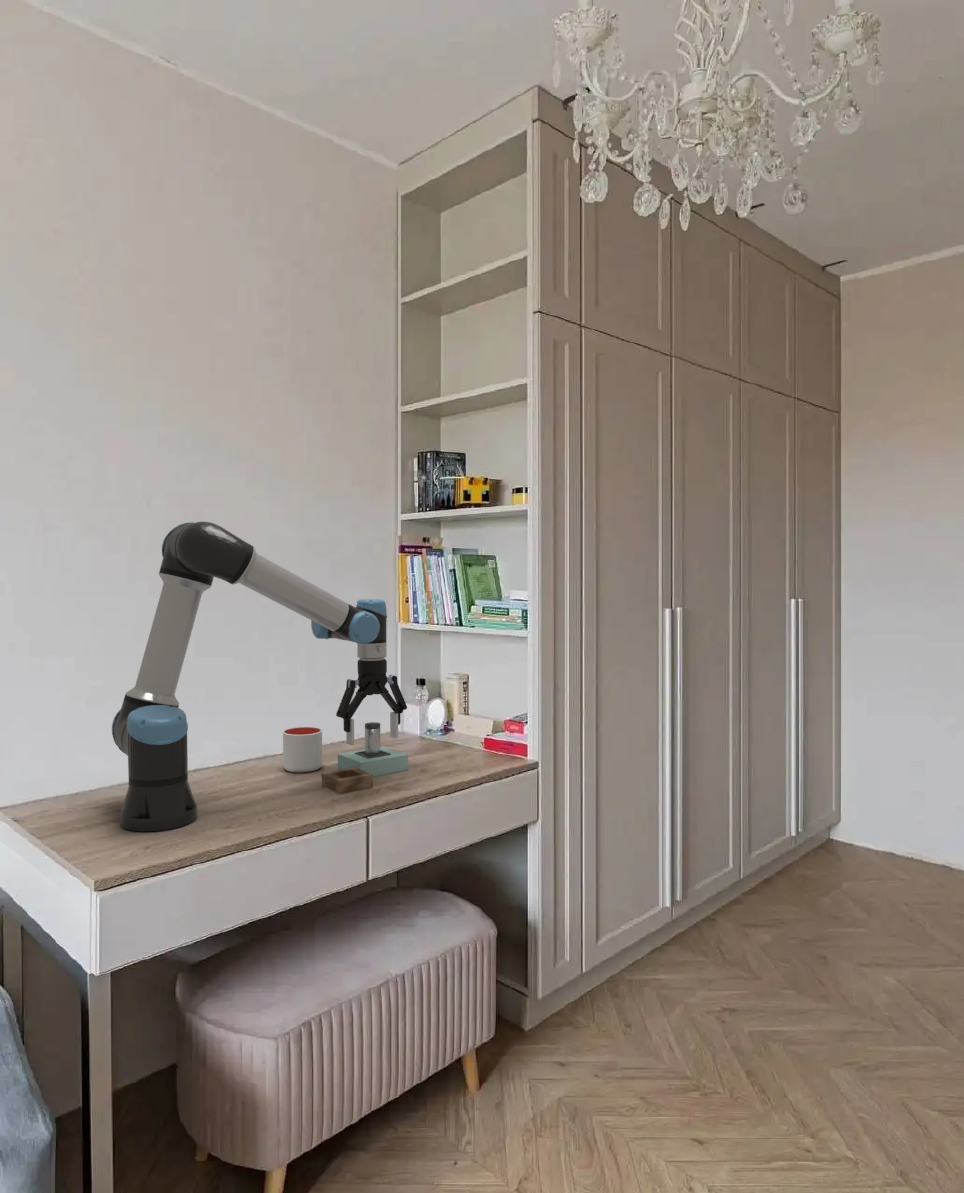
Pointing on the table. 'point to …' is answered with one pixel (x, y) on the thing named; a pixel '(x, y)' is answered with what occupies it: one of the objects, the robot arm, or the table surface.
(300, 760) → the cup
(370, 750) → the plug
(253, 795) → the table surface
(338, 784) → the brown wooden square tray
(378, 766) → the block
